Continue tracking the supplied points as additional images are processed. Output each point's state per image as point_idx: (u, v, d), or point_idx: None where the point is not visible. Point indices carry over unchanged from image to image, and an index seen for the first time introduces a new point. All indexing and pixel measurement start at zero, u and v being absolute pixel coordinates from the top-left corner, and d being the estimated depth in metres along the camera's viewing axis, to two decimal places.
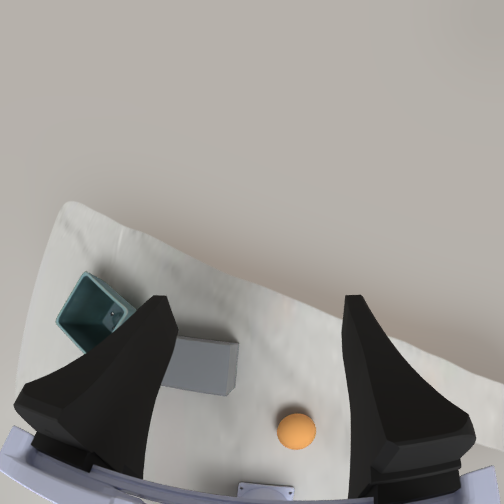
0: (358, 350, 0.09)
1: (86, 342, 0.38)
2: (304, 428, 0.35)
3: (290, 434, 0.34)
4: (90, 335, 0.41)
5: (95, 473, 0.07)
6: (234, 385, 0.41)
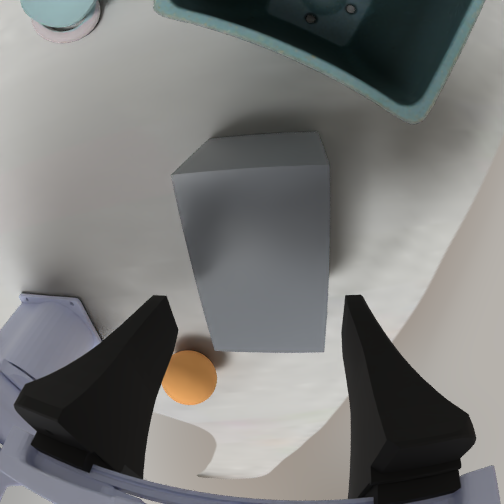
0: (358, 350, 0.09)
1: None
2: (197, 403, 0.25)
3: (183, 394, 0.24)
4: None
5: (95, 473, 0.07)
6: None
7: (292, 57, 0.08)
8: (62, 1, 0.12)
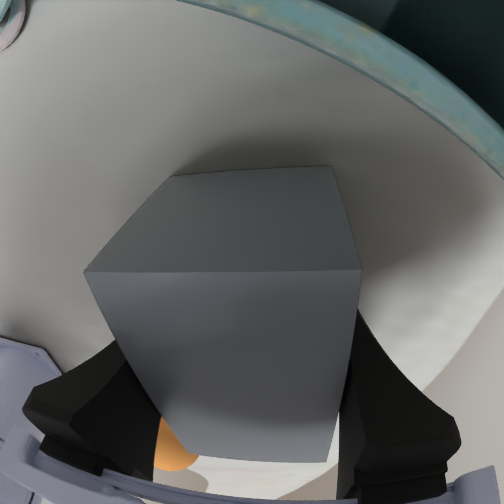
0: None
1: None
2: None
3: (162, 463, 0.19)
4: None
5: (106, 477, 0.07)
6: None
7: (292, 28, 0.02)
8: None
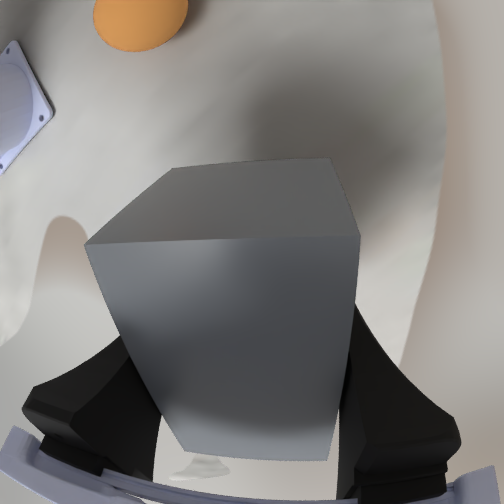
0: None
1: None
2: (147, 2, 0.10)
3: None
4: None
5: (106, 477, 0.07)
6: None
7: None
8: None
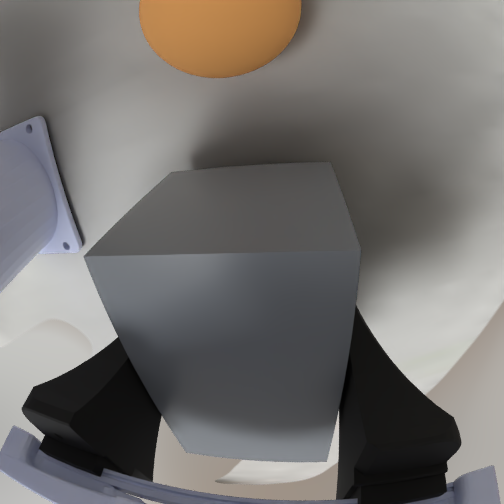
0: None
1: None
2: None
3: None
4: None
5: (106, 477, 0.07)
6: None
7: None
8: None
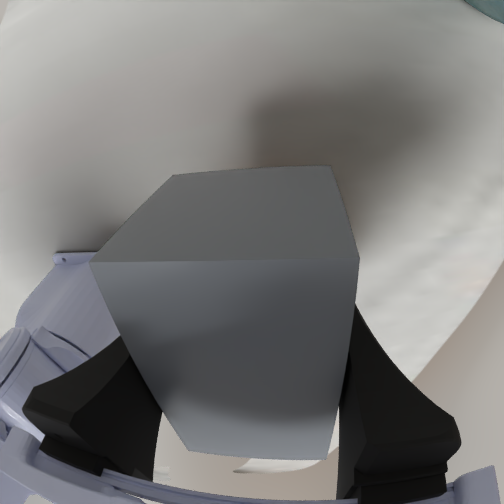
0: None
1: None
2: None
3: None
4: None
5: (106, 477, 0.07)
6: None
7: None
8: None
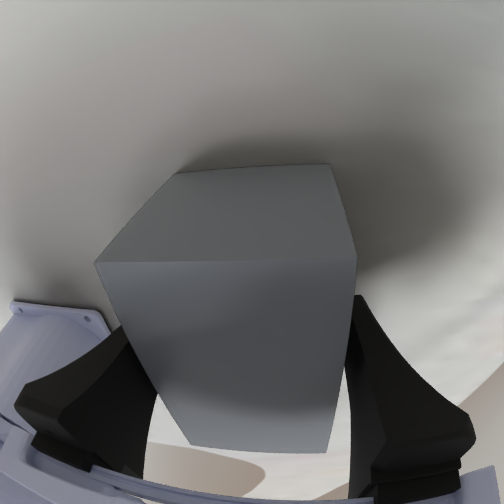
0: (358, 350, 0.09)
1: None
2: None
3: None
4: None
5: (95, 473, 0.07)
6: None
7: None
8: None
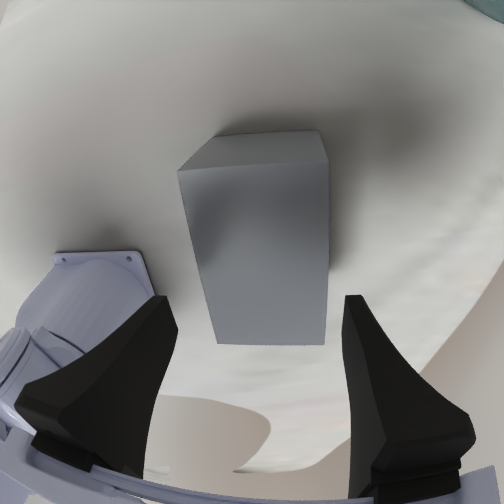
0: (358, 350, 0.09)
1: None
2: None
3: None
4: None
5: (95, 473, 0.07)
6: None
7: None
8: None
